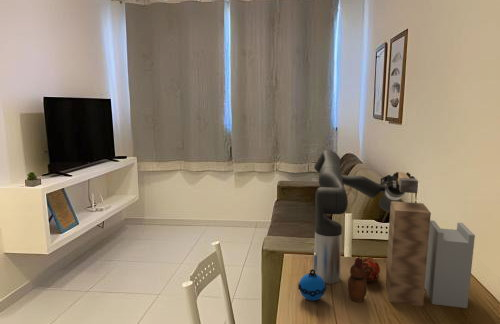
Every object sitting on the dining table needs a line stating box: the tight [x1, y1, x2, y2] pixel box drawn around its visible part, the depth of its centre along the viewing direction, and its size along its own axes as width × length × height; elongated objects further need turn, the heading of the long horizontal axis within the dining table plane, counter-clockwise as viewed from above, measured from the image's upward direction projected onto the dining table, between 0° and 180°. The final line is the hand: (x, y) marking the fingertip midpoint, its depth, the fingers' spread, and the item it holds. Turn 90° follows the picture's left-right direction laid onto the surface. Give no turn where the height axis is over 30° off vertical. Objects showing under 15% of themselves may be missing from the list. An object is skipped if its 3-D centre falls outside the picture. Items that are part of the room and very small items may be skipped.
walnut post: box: [384, 201, 432, 307], centre depth 119 cm, size 10×11×30 cm
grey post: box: [424, 220, 476, 309], centre depth 119 cm, size 10×12×24 cm
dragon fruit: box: [362, 256, 381, 283], centre depth 132 cm, size 8×8×12 cm
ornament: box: [297, 268, 327, 301], centre depth 118 cm, size 9×9×10 cm
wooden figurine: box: [347, 255, 367, 302], centre depth 118 cm, size 7×6×15 cm
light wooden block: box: [397, 171, 419, 194], centre depth 129 cm, size 5×20×4 cm, turn 166°
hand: (402, 174), depth 133 cm, fingers closed on light wooden block, 3 cm apart
